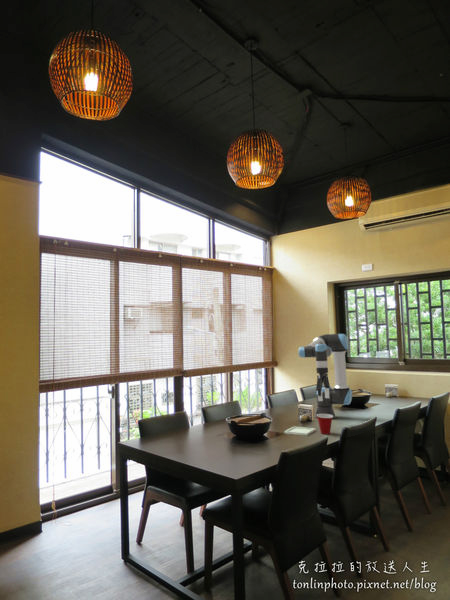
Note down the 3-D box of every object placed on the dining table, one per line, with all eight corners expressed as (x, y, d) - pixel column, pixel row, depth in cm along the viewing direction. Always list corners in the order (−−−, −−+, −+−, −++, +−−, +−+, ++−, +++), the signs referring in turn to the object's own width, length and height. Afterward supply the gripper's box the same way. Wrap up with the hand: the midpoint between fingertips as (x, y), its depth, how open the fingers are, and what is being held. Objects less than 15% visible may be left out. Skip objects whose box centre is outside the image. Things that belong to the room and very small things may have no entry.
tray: (293, 428, 297) (293, 426, 297) (315, 430, 288) (315, 428, 288) (284, 433, 283) (284, 431, 283) (307, 435, 275) (306, 433, 275)
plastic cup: (329, 436, 271) (328, 417, 272) (314, 434, 278) (313, 415, 279) (337, 432, 279) (336, 414, 280) (322, 430, 286) (321, 412, 287)
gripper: (322, 365, 295) (324, 396, 293) (310, 368, 274) (311, 401, 272) (333, 365, 291) (335, 397, 289) (321, 368, 270) (323, 402, 268)
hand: (323, 399), depth 281 cm, fingers open, 13 cm apart
